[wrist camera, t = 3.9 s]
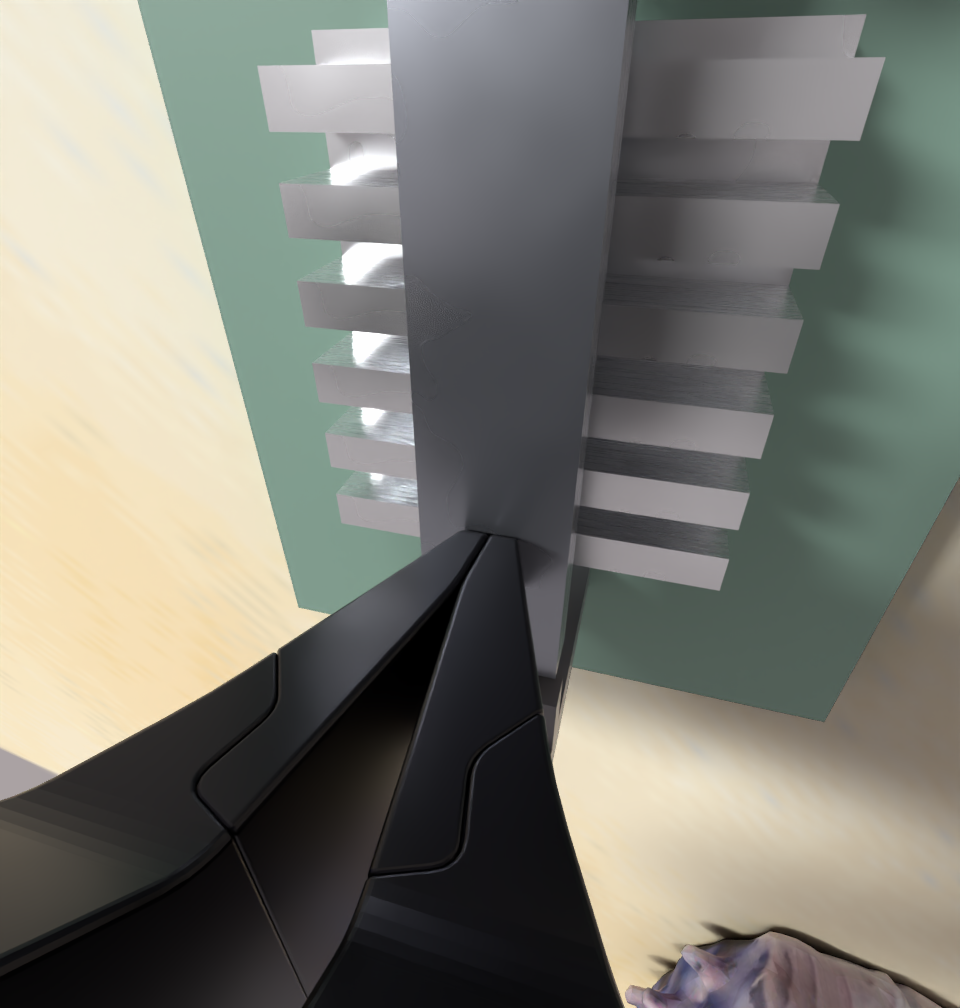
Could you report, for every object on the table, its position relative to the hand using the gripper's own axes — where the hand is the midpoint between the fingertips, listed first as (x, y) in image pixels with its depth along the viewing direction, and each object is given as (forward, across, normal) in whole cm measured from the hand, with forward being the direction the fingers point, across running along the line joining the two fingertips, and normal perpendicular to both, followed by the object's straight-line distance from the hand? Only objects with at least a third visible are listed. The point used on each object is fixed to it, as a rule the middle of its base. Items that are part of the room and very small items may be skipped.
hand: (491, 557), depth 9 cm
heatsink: (+5, 0, -2) cm, 5 cm away
